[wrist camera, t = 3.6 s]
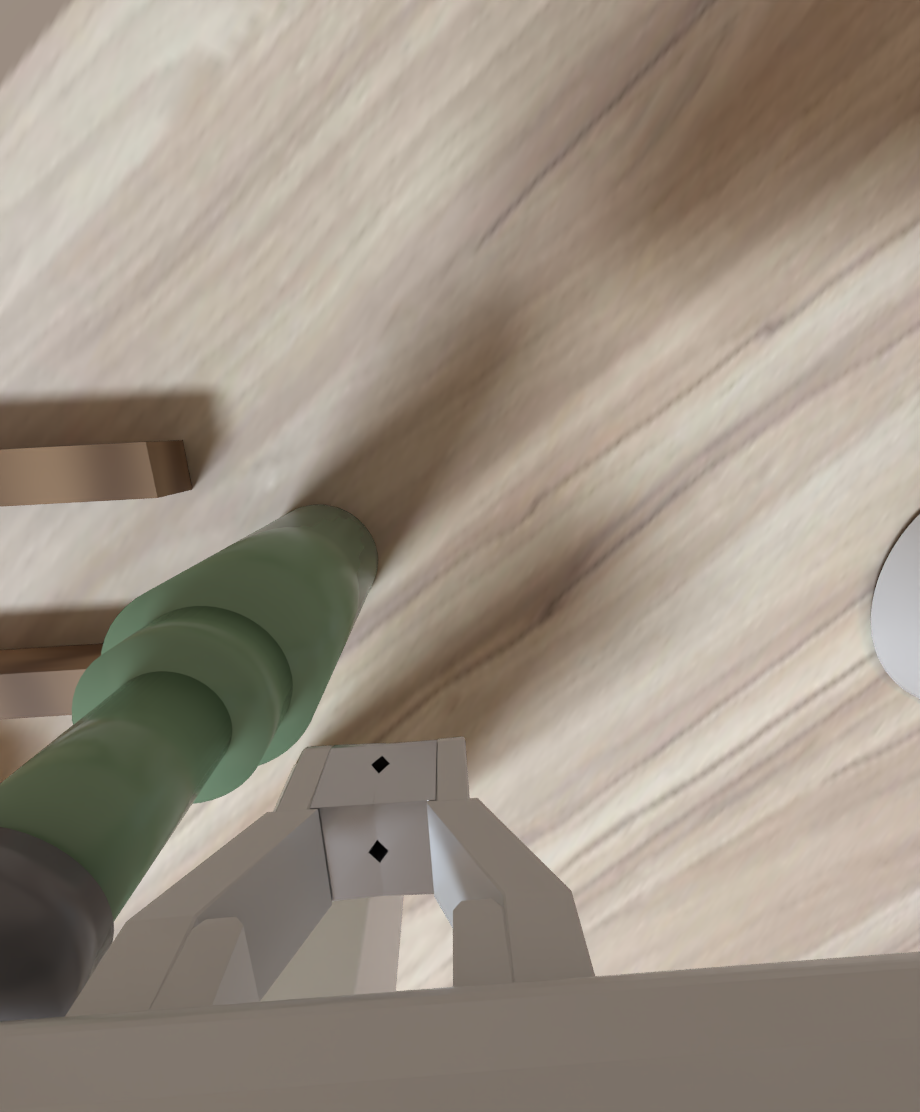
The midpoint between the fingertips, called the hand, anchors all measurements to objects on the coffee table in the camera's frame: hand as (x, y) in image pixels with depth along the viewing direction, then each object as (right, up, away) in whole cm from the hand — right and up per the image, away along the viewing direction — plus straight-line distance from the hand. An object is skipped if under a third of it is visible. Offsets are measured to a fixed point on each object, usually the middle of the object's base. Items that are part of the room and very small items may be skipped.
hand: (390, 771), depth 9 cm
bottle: (-6, +4, +16) cm, 18 cm away
